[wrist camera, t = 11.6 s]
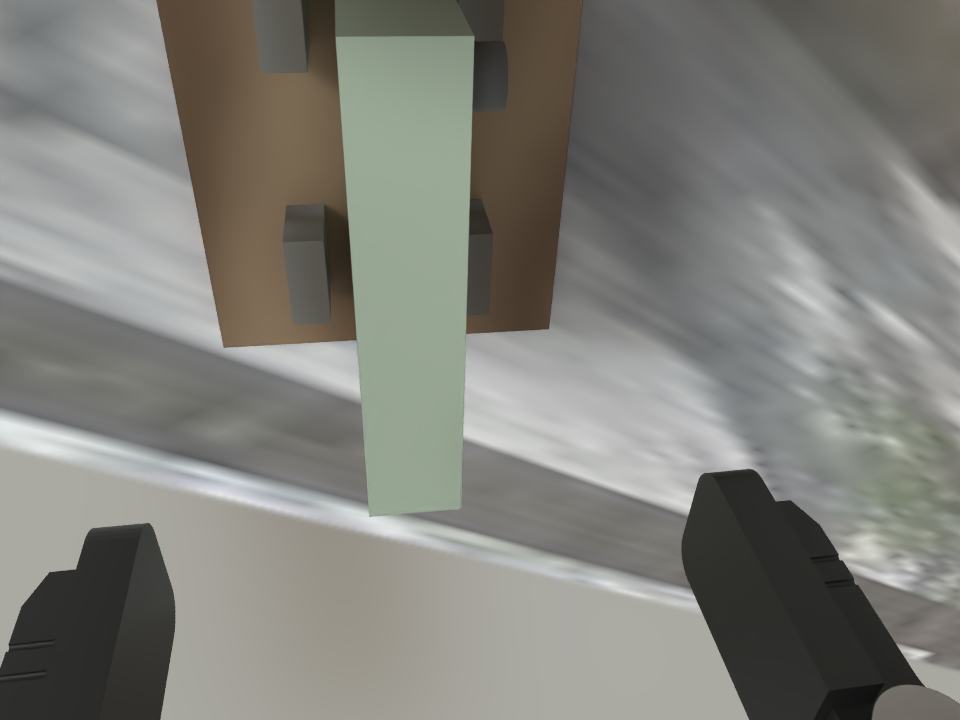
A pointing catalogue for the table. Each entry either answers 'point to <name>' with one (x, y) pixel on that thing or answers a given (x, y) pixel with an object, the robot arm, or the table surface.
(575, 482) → the table surface
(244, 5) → the wooden l-shaped stand
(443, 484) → the door
